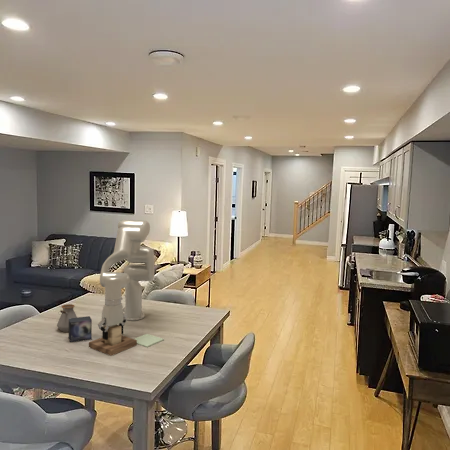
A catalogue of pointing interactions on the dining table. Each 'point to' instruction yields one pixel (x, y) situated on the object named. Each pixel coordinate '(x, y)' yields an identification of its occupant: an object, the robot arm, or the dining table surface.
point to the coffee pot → (66, 317)
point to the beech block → (114, 335)
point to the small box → (80, 329)
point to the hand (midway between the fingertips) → (113, 336)
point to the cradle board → (111, 350)
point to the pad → (148, 340)
